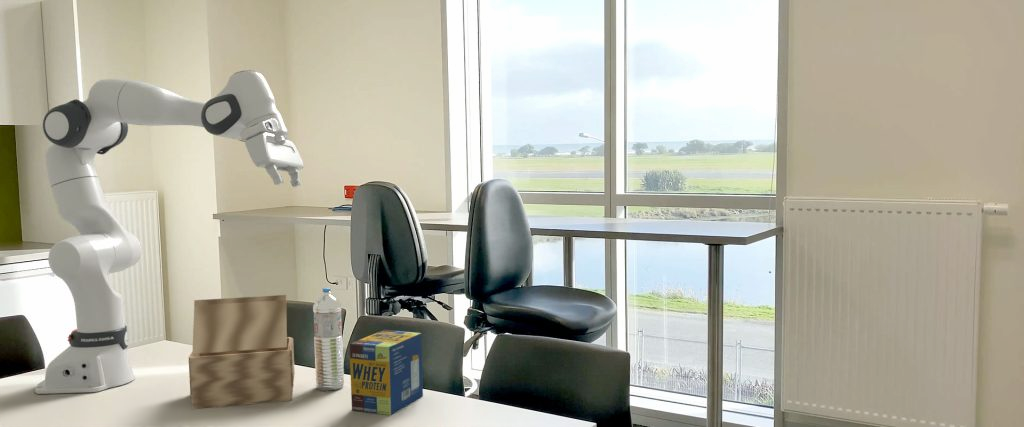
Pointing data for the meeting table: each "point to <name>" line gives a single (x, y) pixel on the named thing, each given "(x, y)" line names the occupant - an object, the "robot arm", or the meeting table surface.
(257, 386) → the carton
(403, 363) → the protein box
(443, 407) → the meeting table surface
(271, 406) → the meeting table surface
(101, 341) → the robot arm
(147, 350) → the meeting table surface
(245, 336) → the carton flap
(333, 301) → the water bottle
